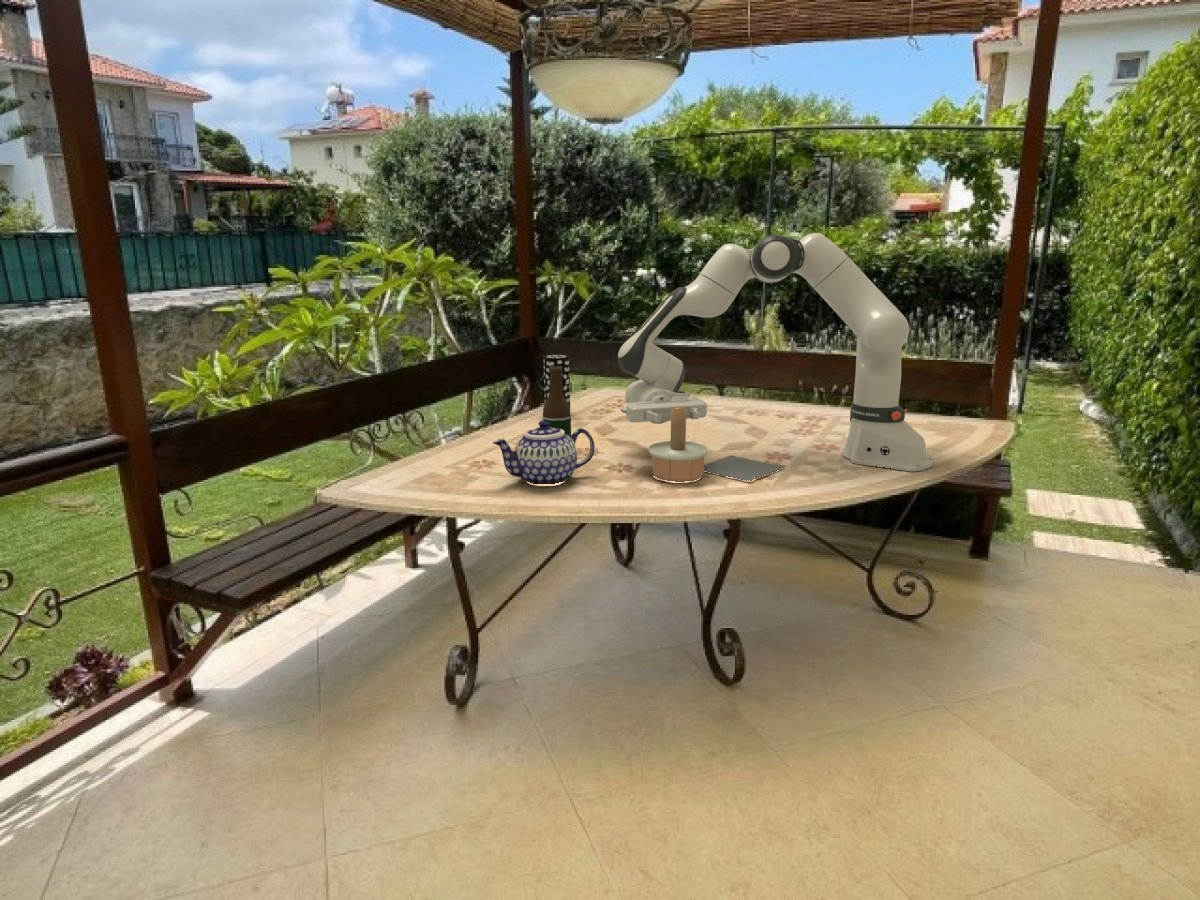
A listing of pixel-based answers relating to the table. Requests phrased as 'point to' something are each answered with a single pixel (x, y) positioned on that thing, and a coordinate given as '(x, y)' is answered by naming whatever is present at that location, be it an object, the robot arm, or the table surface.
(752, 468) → the mat
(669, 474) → the bowl
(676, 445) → the lid
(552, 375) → the beer bottle
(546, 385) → the spotted tube
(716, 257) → the robot arm
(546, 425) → the teapot
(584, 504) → the table surface
